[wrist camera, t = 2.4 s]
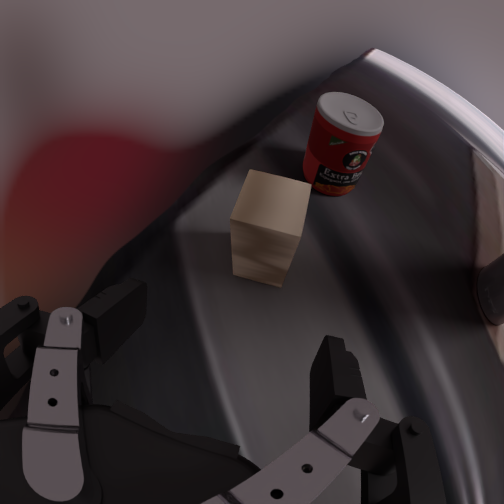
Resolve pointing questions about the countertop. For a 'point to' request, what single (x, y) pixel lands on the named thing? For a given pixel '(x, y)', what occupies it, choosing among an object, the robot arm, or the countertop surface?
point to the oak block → (267, 226)
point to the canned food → (340, 142)
